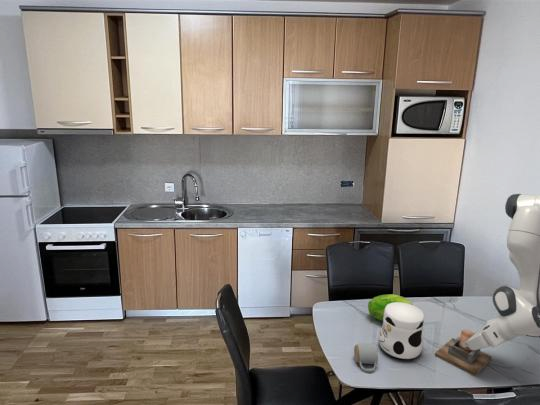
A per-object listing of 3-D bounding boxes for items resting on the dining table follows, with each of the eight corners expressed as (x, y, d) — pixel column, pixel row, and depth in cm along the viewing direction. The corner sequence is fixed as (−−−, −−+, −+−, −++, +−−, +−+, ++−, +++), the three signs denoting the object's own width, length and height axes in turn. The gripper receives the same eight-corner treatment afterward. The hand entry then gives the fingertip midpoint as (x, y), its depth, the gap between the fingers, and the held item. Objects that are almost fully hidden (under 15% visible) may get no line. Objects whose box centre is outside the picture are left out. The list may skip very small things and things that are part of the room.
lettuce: (418, 324, 183) (421, 301, 180) (373, 328, 178) (376, 305, 175) (403, 309, 195) (406, 288, 192) (361, 313, 190) (363, 292, 187)
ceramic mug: (352, 355, 159) (354, 338, 157) (372, 355, 159) (374, 339, 157) (358, 373, 149) (360, 356, 147) (379, 373, 149) (382, 356, 147)
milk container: (369, 342, 168) (373, 304, 163) (401, 334, 174) (406, 298, 170) (396, 367, 152) (401, 326, 148) (430, 358, 159) (436, 318, 154)
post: (460, 349, 162) (464, 328, 160) (471, 354, 159) (475, 333, 157) (455, 353, 159) (459, 332, 157) (467, 359, 156) (471, 337, 154)
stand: (452, 340, 171) (454, 329, 169) (491, 359, 159) (493, 347, 158) (434, 355, 160) (436, 344, 159) (475, 376, 149) (477, 364, 147)
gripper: (503, 313, 155) (473, 324, 165) (483, 331, 142) (452, 342, 152) (513, 328, 153) (483, 338, 163) (493, 348, 140) (461, 358, 149)
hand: (467, 340), depth 157 cm, fingers open, 8 cm apart
